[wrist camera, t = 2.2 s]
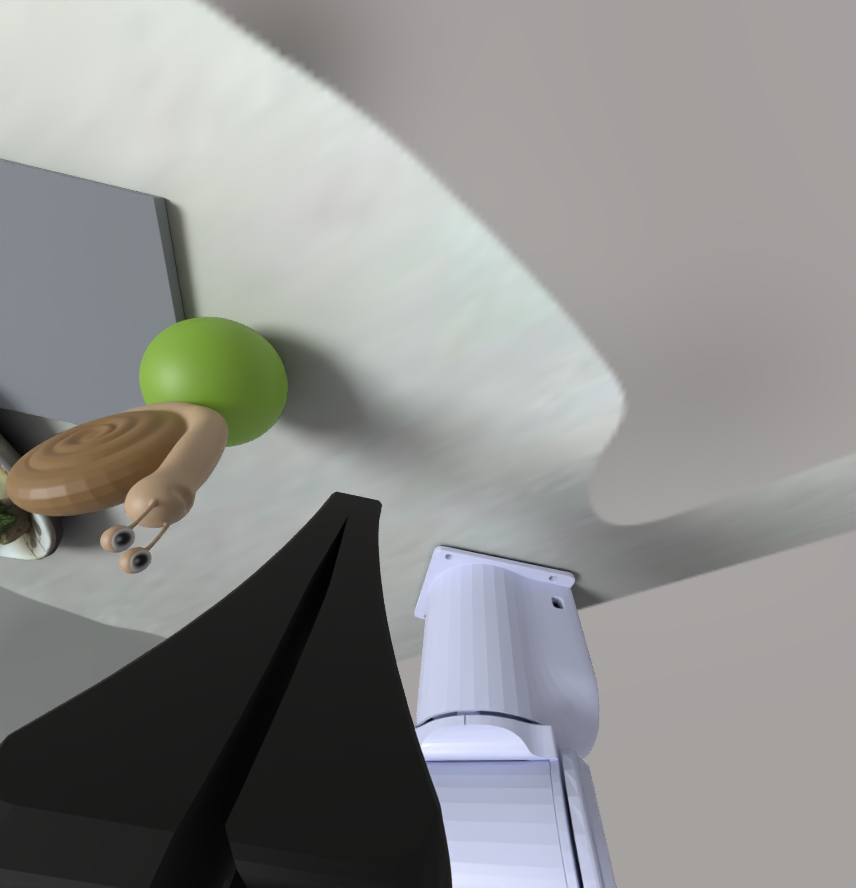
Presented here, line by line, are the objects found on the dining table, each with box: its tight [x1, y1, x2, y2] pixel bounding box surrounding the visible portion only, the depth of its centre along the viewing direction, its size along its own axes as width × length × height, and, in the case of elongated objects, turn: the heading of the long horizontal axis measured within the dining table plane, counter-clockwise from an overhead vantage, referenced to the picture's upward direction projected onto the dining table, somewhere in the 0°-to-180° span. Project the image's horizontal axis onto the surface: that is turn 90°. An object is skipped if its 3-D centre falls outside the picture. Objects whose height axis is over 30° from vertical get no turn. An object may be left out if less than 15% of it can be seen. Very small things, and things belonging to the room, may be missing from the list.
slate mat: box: [0, 159, 185, 425], centre depth 17 cm, size 15×12×1 cm
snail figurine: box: [6, 317, 288, 574], centre depth 13 cm, size 5×6×12 cm
